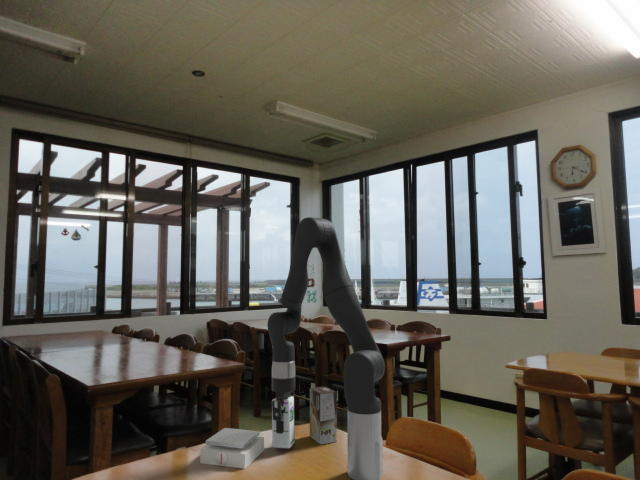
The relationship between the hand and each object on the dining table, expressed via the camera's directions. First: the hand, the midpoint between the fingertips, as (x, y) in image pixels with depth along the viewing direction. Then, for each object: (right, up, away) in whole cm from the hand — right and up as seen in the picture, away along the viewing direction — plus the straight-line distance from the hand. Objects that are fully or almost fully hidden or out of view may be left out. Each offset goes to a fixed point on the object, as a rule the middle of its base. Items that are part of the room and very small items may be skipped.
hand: (283, 429), depth 141 cm
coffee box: (+12, -7, +9) cm, 17 cm away
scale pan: (-14, 0, -6) cm, 16 cm away
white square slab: (-15, -5, -7) cm, 17 cm away
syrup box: (0, -5, 0) cm, 5 cm away
